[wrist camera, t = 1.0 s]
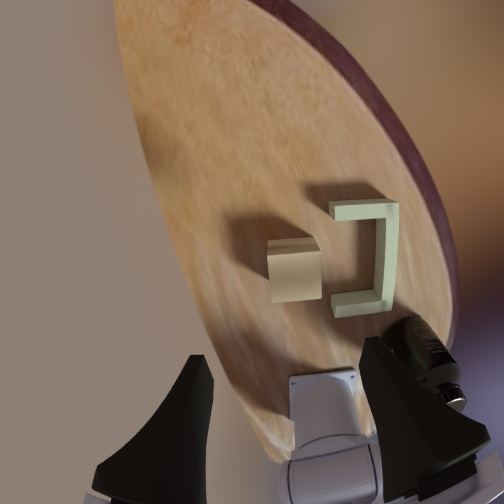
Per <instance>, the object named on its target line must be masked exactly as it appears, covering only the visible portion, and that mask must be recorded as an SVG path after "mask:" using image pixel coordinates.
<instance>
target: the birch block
mask: <svg viewBox="0 0 504 504" xmlns="http://www.w3.org/2000/svg"><path fill="white" fill-rule="evenodd" d="M267 261H268V271H269V281H270V291H271V301H272V303H278V302H291V301H302V300H312V299H322V282H321V251H320V249H319V247H318V245H317V243H316V241H315V239H314V237H301V238H290V239H278V240H268V245H267Z"/></svg>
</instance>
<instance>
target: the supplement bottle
mask: <svg viewBox="0 0 504 504" xmlns="http://www.w3.org/2000/svg"><path fill="white" fill-rule="evenodd" d="M381 340H382V341H383V342H384V343H385V345H386V346H387V347H388V348H389V349H390V351H391V352H392V353H393V354H394V355H395V356H396V358H397V359H398V360H399V361H400V362H401V363H402V364H403V365H404V366H405V368H406V369H407V370H408V371H409V372H410V373H411V374H412V375H413V376H414V377H415V378H416V379H417V380H418V381H419V382H420V383H421V384H422V385H423V386H424V387H426V388H427V389H428V390H429V391H430V392H431V393H433V394H434V395H435V396H436V397H437V398H439V399H440V400H441V401H443V402H444V403H446V404H447V405H449V406H450V407H452V408H453V409H455V410H456V411H458V412H459V413H461V412H462V411H463V409H464V407H465V405H466V402H467V400H466V397H465V396H464V394H463V392H462V389H461V387H460V386H459V385H458V383H459V380H460V369H459V366H458V364H457V363H456V361H455V360H454V358H453V357H452V356H451V354H450V353H449V351H448V350H447V349H446V347H445V346H444V344H443V343H442V342H441V340H440V339H439V338H438V336H437V335H436V334H435V332H434V331H433V330H432V328H431V327H430V326H429V325H428V323H427V322H426V321H425V320H423V319H422V318H419V317H408V318H404V319H402V320H399V321H398V322H396V323H394V324H393V325H392V326H391V327H389V328H388V329H387V331H386V332H385V333H384V334H383V336H382V338H381Z"/></svg>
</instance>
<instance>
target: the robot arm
mask: <svg viewBox="0 0 504 504" xmlns="http://www.w3.org/2000/svg"><path fill="white" fill-rule="evenodd" d="M359 370H360V375H361V380H362V384H363V388H364V391H365V394H366V397H367V400H368V403H369V406H370V409H371V412H372V415H373V418H374V421H375V425H376V429H377V434H378V440H379V444H378V443H375V442H374V441H370V442H368V446H367V442H366V438H365V434H363V435H362V430H361V426H360V422H359V418H358V415H357V411H356V407H355V403H354V399H353V393H354V388H355V382H356V377H357V371H356V370H355V369H351V370H344V371H337V372H329V373H320V374H311V375H301V376H291V377H290V378H289V394H290V420H291V423H293V424H294V430H295V450H293V451H291V460H286V461H284V463H283V465H282V466H281V467H280V469H279V473H278V492H279V497H280V501H281V504H387V503H388V502H391V501H394V500H397V499H400V498H403V497H404V498H405V499H404V500H401V501H398V502H395V503H393V504H488V503H489V502H490V501H492V500H493V499H494V498H496V497H497V496H499V495H500V494H501V493H502V492H504V471H503V468H502V465H501V461H500V459H499V455H498V453H497V452H494V453H493V454H491V455H490V456H488V457H487V458H485V459H484V460H482V461H480V462H479V463H477V464H476V465H475V463H474V461H475V460H476V454H475V453H477V452H478V451H479V450H480V449H482V448H483V447H485V446H486V445H487V444H488V443H489V442H490V440H491V439H490V436H489V433H488V431H487V429H486V427H485V425H483V424H481V423H479V422H476V421H474V420H472V419H470V418H468V417H466V416H464V415H463V414H461V413H459V412H458V411H456V410H455V409H453V408H452V407H450V406H449V405H447V404H446V403H444V402H443V401H441V400H440V399H439V398H437V397H436V396H435V395H434V394H433V393H431V392H430V391H429V390H428V389H427V388H426V387H424V386H423V385H422V384H421V383H420V382H419V381H418V380H417V379H416V378H415V377H414V376H413V375H412V374H411V373H410V372H409V371H408V370H407V369H406V368H405V366H404V365H403V364H402V363H401V362H400V361H399V360H398V359H397V358H396V356H395V355H394V354H393V353H392V352H391V351H390V349H389V348H388V347H387V346H386V345H385V343H384V342H383V341H382V340H381V339H380V337H378V336H375V337H370V338H365V343H364V347H363V351H362V355H361V358H360V362H359ZM293 382H294V383H293ZM213 385H214V379H213V377H212V374H211V372H210V369H209V367H208V364H207V362H206V359H205V357H204V355H190V356H189V358H188V360H187V362H186V364H185V366H184V367H183V369H182V371H181V373H180V375H179V376H178V378H177V380H176V382H175V383H174V385H173V386H172V388H171V390H170V391H169V393H168V395H167V396H166V398H165V399H164V401H163V402H162V403H161V405H160V406H159V408H158V409H157V411H156V412H155V413H154V414H153V416H152V417H151V418H150V420H149V421H148V422H147V423H146V424H145V425H144V426H143V427H142V429H141V430H140V431H139V432H138V433H137V434H136V435H135V436H134V437H133V438H132V439H131V440H130V441H129V442H128V443H126V444H125V445H124V446H123V447H122V448H121V449H120V450H118V451H117V452H116V453H115V454H113V455H112V456H111V457H109V458H108V459H106V460H105V461H104V462H102V463H101V464H99V465H98V466H97V468H96V471H95V475H94V479H93V483H92V489H93V490H95V491H97V492H99V493H101V494H104V495H106V496H108V497H111V498H112V499H111V502H109V501H107V500H104V499H101V498H98V497H96V496H93V495H91V494H88V493H85V496H84V501H83V504H207V501H206V480H205V479H206V475H205V474H206V472H205V471H206V468H205V466H206V443H207V435H208V429H209V423H210V416H211V410H212V404H213V389H214V386H213Z"/></svg>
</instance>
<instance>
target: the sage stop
mask: <svg viewBox="0 0 504 504" xmlns="http://www.w3.org/2000/svg"><path fill="white" fill-rule="evenodd" d="M328 203H329V215H330V216H331V217H332V218H333V219H334V220H335V221H346V220H360V219H375V218H376V253H375V273H374V288H373V289H371V290H363V291H355V292H346V293H337V294H331V308H332V310H333V313H334V316H335V318H341V317H349V316H356V315H364V314H371V313H378V312H384V311H391V310H392V303H393V295H394V287H395V277H396V265H397V251H398V229H399V203H398V202H396V201H393V200H391V199H388V198H382V199H361V200H343V201H328Z"/></svg>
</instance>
